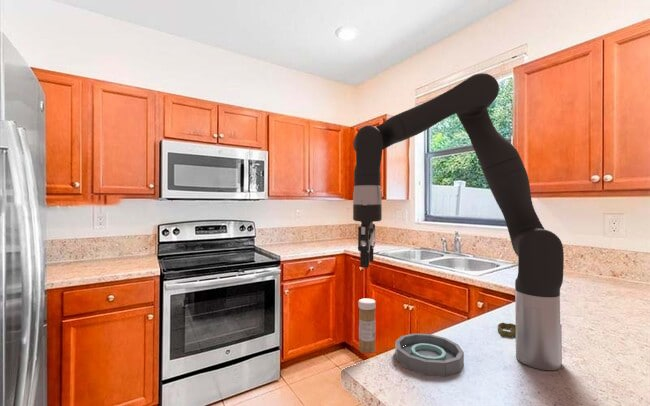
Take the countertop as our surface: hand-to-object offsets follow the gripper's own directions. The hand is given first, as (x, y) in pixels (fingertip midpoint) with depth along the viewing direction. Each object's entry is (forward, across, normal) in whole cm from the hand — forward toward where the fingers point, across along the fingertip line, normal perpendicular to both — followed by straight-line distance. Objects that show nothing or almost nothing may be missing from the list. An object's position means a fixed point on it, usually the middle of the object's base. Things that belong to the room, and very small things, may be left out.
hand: (367, 264), depth 82 cm
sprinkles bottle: (+24, -1, 0) cm, 24 cm away
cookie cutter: (+24, -27, +45) cm, 58 cm away
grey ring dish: (+23, -1, +16) cm, 28 cm away
